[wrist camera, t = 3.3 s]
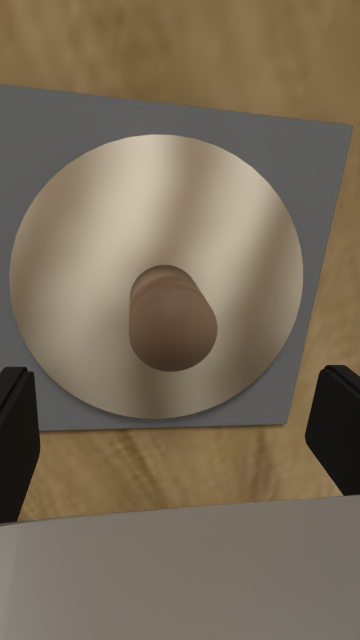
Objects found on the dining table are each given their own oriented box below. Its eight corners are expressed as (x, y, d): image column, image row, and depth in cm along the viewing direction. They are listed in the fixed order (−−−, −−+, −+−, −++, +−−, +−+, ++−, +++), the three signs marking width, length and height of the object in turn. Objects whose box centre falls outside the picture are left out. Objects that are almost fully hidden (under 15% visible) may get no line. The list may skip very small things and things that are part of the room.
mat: (348, 126, 19) (353, 125, 19) (283, 419, 26) (286, 423, 26) (-36, 82, 16) (-41, 79, 16) (9, 426, 23) (6, 431, 23)
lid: (322, 152, 19) (401, 138, 13) (271, 407, 25) (310, 470, 19) (-3, 120, 16) (-72, 86, 11) (29, 412, 22) (-5, 486, 17)
